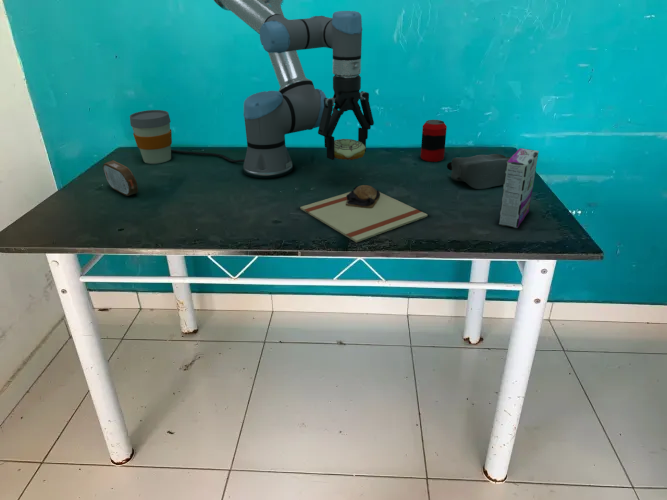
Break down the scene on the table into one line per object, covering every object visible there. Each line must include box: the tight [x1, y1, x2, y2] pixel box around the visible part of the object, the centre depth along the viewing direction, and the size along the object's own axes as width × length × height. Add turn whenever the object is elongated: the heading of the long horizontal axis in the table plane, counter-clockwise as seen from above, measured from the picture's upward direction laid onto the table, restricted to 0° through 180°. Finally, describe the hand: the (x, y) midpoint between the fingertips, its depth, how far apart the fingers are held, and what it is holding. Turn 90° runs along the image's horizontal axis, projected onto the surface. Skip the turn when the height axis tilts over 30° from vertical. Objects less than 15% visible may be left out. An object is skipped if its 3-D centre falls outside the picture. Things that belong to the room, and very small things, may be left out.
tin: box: [102, 159, 139, 197], centre depth 149 cm, size 15×3×8 cm, turn 47°
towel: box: [299, 191, 428, 244], centre depth 135 cm, size 24×23×1 cm
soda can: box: [420, 119, 448, 163], centre depth 169 cm, size 8×8×12 cm
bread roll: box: [346, 184, 381, 208], centre depth 141 cm, size 11×8×4 cm
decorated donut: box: [334, 138, 367, 161], centre depth 149 cm, size 10×11×4 cm
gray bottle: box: [446, 153, 511, 190], centre depth 151 cm, size 18×11×8 cm, turn 104°
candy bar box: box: [498, 148, 540, 229], centre depth 127 cm, size 11×5×16 cm, turn 148°
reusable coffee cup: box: [129, 109, 173, 165], centre depth 172 cm, size 13×13×15 cm
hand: (346, 154), depth 150 cm, fingers closed on decorated donut, 11 cm apart
